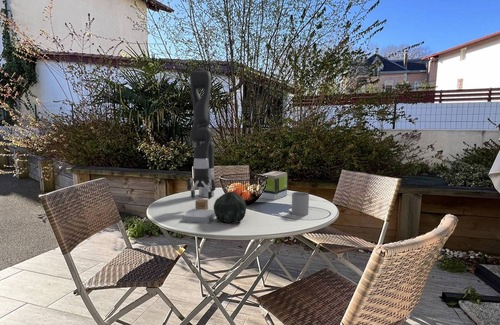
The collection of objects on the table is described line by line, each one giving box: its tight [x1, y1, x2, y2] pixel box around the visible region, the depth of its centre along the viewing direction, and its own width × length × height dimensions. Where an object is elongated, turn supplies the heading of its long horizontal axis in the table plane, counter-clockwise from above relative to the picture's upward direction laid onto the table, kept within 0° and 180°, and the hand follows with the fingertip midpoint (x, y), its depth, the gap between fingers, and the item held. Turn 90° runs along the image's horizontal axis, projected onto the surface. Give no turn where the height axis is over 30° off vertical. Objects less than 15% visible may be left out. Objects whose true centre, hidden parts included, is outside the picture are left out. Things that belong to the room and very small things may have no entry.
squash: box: [213, 191, 247, 224], centre depth 143 cm, size 14×15×15 cm
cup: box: [291, 191, 310, 217], centre depth 156 cm, size 8×8×10 cm
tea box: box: [260, 170, 288, 201], centre depth 190 cm, size 15×10×15 cm
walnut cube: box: [194, 198, 209, 210], centre depth 161 cm, size 5×5×5 cm
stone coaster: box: [183, 208, 216, 224], centre depth 147 cm, size 12×12×2 cm
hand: (201, 198), depth 160 cm, fingers open, 8 cm apart
